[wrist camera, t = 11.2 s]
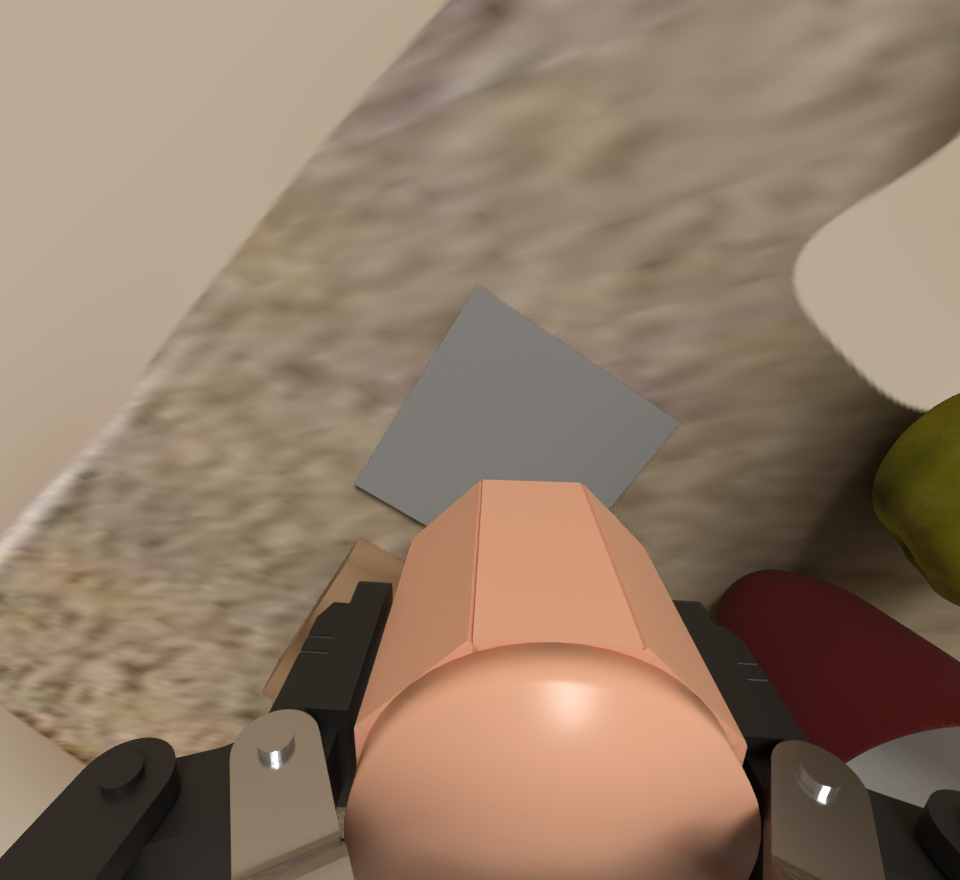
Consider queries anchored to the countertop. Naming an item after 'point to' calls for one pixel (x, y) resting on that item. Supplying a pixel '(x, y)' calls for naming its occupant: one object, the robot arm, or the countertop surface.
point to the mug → (854, 680)
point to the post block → (339, 599)
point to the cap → (543, 709)
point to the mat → (510, 418)
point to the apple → (925, 496)
